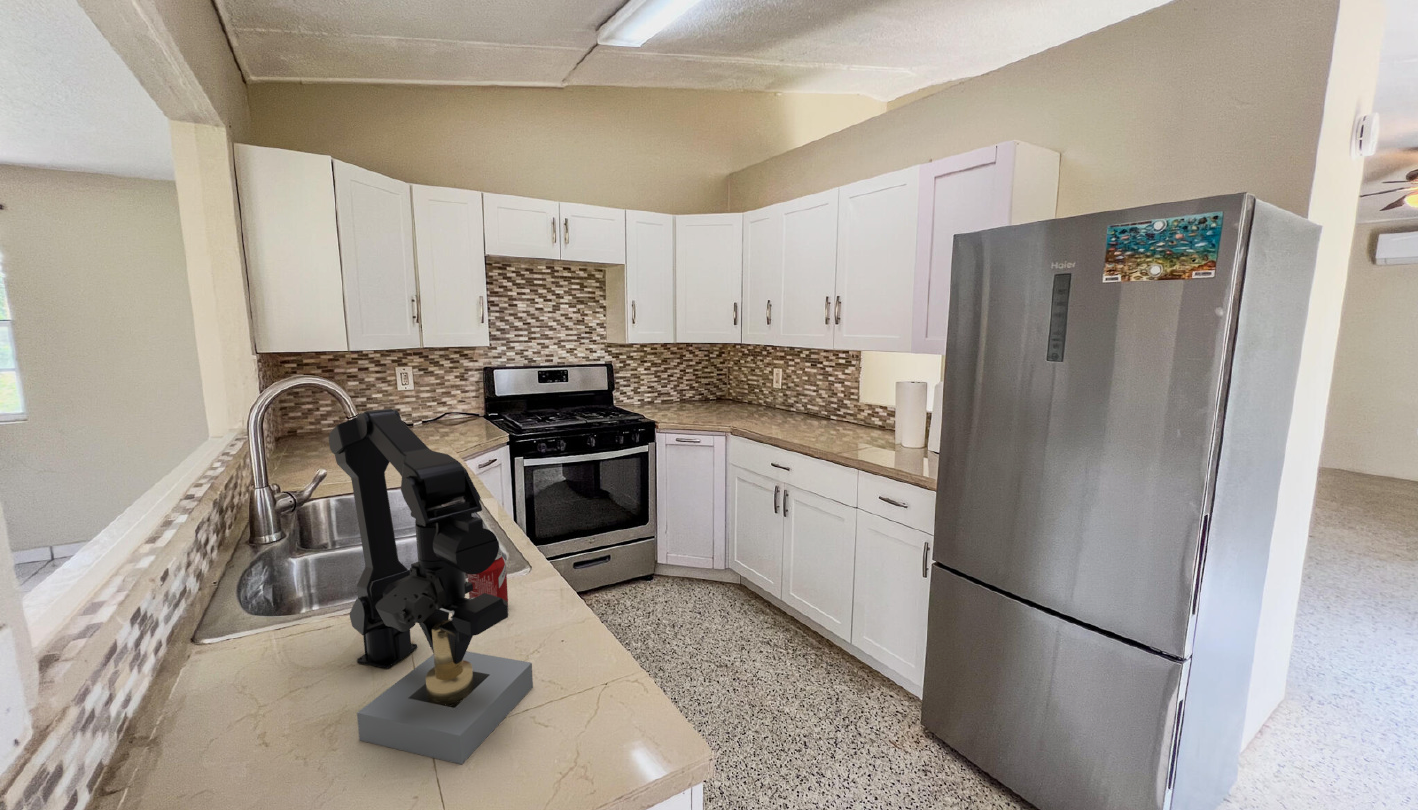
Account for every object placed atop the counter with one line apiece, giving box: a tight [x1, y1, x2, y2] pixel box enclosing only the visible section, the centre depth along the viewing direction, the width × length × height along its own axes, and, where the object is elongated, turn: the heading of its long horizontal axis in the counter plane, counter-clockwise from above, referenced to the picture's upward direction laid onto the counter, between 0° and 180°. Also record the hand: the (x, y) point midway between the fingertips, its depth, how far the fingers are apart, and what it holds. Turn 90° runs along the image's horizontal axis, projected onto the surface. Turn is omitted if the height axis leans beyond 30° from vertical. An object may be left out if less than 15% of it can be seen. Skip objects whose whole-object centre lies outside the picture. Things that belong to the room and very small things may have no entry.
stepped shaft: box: [426, 618, 473, 706], centre depth 80 cm, size 6×6×10 cm
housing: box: [356, 650, 534, 765], centre depth 81 cm, size 16×16×4 cm
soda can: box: [467, 550, 509, 603], centre depth 108 cm, size 7×7×12 cm
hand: (448, 658), depth 80 cm, fingers closed on stepped shaft, 4 cm apart
